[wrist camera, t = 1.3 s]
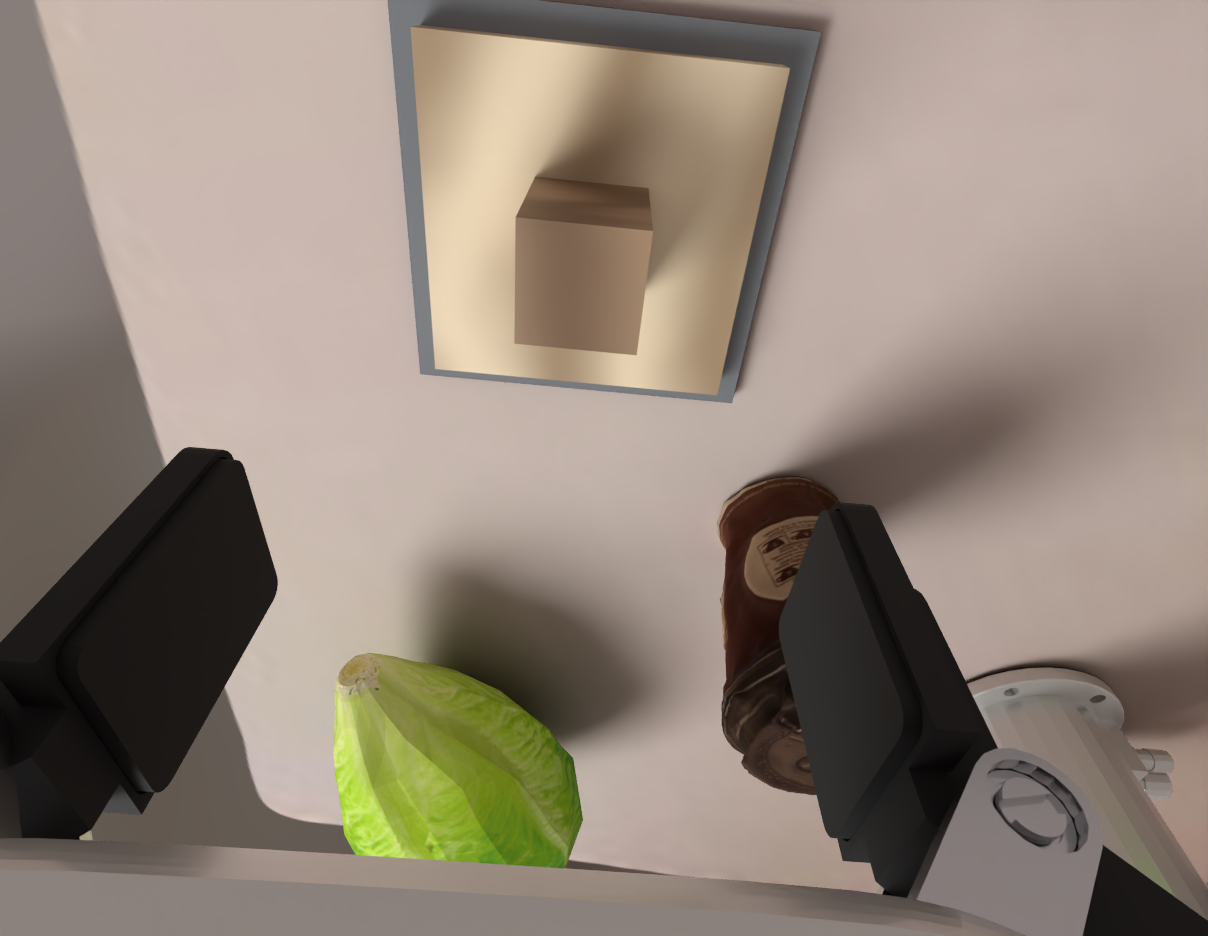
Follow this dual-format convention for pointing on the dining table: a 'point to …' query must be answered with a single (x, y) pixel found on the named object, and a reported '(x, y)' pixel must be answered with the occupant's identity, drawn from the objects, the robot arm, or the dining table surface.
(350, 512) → the dining table surface
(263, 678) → the dining table surface
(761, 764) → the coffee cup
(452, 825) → the lettuce
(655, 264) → the lid
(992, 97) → the dining table surface
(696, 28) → the mat
